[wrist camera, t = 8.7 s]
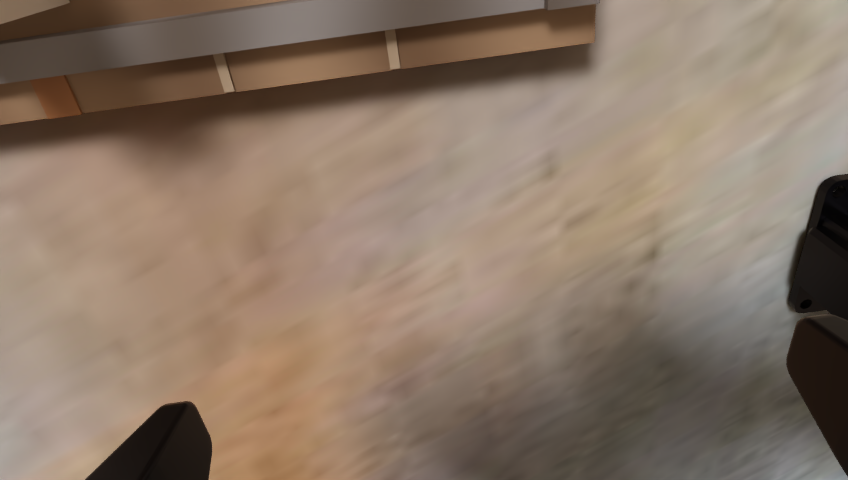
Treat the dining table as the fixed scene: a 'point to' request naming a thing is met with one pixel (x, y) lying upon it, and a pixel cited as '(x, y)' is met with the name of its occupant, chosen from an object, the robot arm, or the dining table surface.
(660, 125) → the dining table surface
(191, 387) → the dining table surface
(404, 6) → the brown wooden tray
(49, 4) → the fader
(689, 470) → the dining table surface
